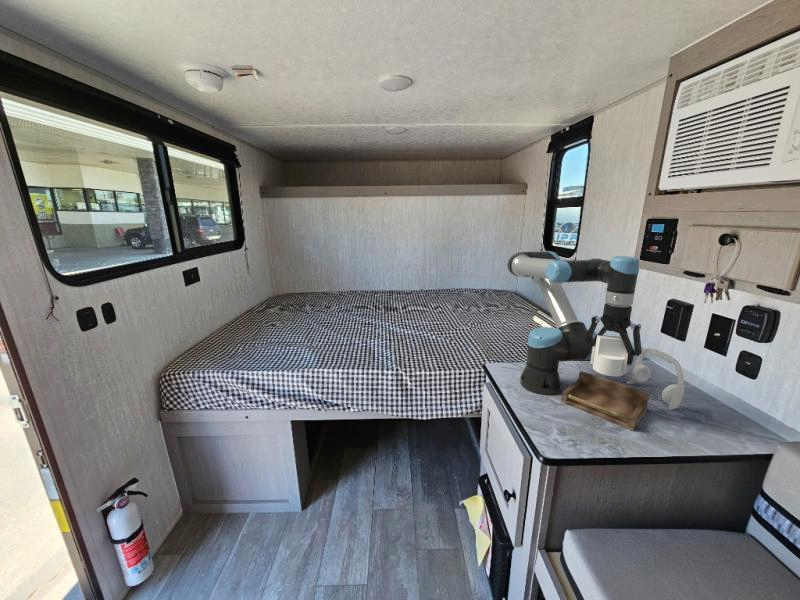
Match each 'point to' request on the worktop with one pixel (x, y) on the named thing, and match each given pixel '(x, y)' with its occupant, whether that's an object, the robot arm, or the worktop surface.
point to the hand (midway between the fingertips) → (608, 367)
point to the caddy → (607, 399)
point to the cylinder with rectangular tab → (609, 355)
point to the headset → (671, 392)
